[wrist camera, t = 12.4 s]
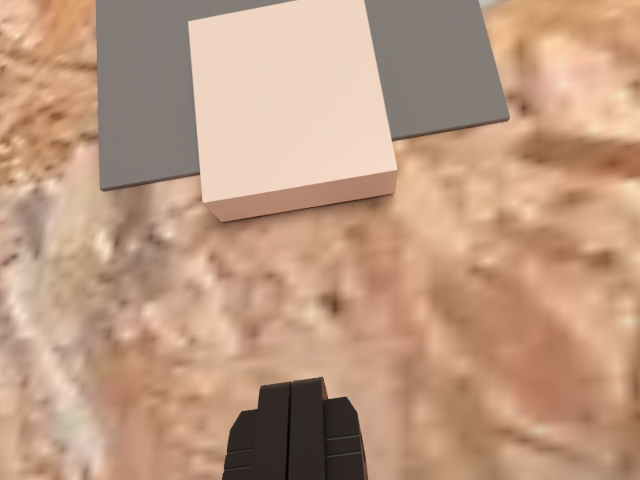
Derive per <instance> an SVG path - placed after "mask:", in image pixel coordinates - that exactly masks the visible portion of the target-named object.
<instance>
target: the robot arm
mask: <svg viewBox="0 0 640 480" xmlns="http://www.w3.org/2000/svg"><path fill="white" fill-rule="evenodd" d="M222 480H368V474H367V465H366V457H365V451H364V445H363V440H362V435H361V430H360V425H359V419H358V414H357V412H356V410H355V409H354V407H353V406H352V404H351V403H350V401H349V400H348V398H347V397H341V398H333V399H328V396H327V391H326V387H325V383H324V379H323V377H319V378H312V379H305V380H298V381H293V382H285V383H277V384H270V385H263V386H261V387H260V392H259V401H258V409H255V410H248V411H241V413H240V415H239V416H238V418H237V420H236V421H235V423H234V425H233V426H232V428H231V430H230V434H229V440H228V446H227V455H226V458H225V464H224V473H223V477H222Z"/></svg>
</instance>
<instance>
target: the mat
mask: <svg viewBox="0 0 640 480" xmlns="http://www.w3.org/2000/svg"><path fill="white" fill-rule="evenodd" d="M291 1H296V0H96V29H97V75H98V121H99V166H100V189H101V190H102V191H105V190H111V189H117V188H123V187H128V186H134V185H140V184H146V183H151V182H157V181H163V180H169V179H174V178H180V177H186V176H192V175H197V174H200V163H199V150H198V138H197V126H196V113H195V101H194V89H193V76H192V64H191V51H190V39H189V27H188V21H192V20H198V19H203V18H208V17H213V16H218V15H223V14H229V13H234V12H239V11H244V10H249V9H254V8H260V7H265V6H270V5H275V4H280V3H285V2H291ZM364 2H365V7H366V12H367V18H368V23H369V28H370V33H371V38H372V43H373V48H374V53H375V58H376V63H377V68H378V73H379V78H380V84H381V89H382V94H383V99H384V104H385V109H386V114H387V119H388V124H389V129H390V134H391V139H392V140H398V139H404V138H410V137H415V136H421V135H427V134H432V133H438V132H444V131H450V130H455V129H461V128H467V127H473V126H478V125H484V124H490V123H496V122H501V121H507V120H509V118H510V116H509V112H508V108H507V105H506V101H505V97H504V93H503V90H502V86H501V82H500V79H499V75H498V71H497V68H496V64H495V60H494V57H493V53H492V49H491V46H490V42H489V38H488V35H487V31H486V27H485V24H484V20H483V16H482V12H481V9H480V5H479V1H478V0H364Z"/></svg>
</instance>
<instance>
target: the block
mask: <svg viewBox="0 0 640 480" xmlns="http://www.w3.org/2000/svg"><path fill="white" fill-rule="evenodd" d="M188 27H189V39H190V51H191V64H192V76H193V89H194V101H195V113H196V126H197V138H198V150H199V163H200V175H201V187H202V200H203V204H204V205H205V206H206V207H207V208H208V209H209V210H210V211H211V212H212V213H213V214H214V215H215V216H216V217H217V218H218V219H219V220H220V221H221V222H225V221H231V220H237V219H243V218H249V217H255V216H261V215H267V214H273V213H279V212H285V211H291V210H297V209H303V208H309V207H315V206H321V205H327V204H333V203H339V202H345V201H351V200H356V199H362V198H368V197H374V196H380V195H386V194H392V193H395V187H396V178H397V165H396V160H395V155H394V150H393V144H392V139H391V134H390V129H389V124H388V119H387V114H386V109H385V104H384V99H383V94H382V89H381V84H380V78H379V73H378V68H377V63H376V58H375V53H374V48H373V43H372V38H371V33H370V28H369V23H368V18H367V12H366V7H365V2H364V0H296V1H291V2H285V3H280V4H275V5H270V6H265V7H260V8H254V9H249V10H244V11H239V12H234V13H229V14H223V15H218V16H213V17H208V18H203V19H198V20H192V21H188Z"/></svg>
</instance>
